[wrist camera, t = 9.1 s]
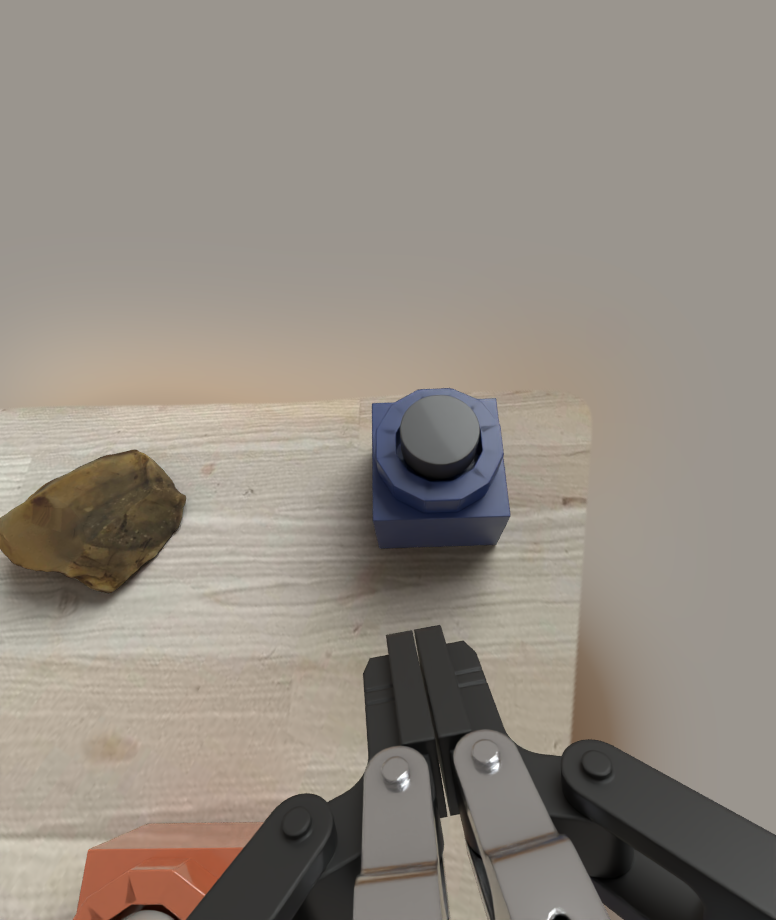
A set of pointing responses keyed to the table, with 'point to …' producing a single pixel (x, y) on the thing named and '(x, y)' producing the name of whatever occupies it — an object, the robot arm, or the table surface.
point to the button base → (159, 868)
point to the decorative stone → (95, 521)
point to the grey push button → (439, 436)
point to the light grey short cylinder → (148, 915)
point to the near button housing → (437, 484)
